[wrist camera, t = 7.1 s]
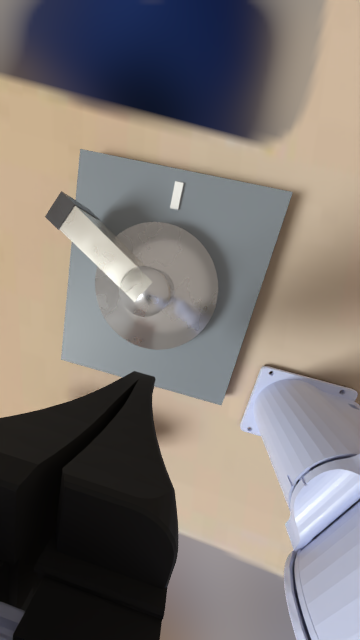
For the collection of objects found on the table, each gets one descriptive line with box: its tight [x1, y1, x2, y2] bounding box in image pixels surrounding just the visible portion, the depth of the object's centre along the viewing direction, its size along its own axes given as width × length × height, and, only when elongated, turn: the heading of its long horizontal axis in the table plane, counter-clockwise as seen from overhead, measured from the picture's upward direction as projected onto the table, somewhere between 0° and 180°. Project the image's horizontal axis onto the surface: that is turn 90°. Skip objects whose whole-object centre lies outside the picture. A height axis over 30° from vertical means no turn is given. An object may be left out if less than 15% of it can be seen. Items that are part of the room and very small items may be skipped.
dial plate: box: [61, 149, 293, 405], centre depth 18 cm, size 18×20×2 cm
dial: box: [45, 191, 218, 350], centre depth 15 cm, size 11×14×4 cm
